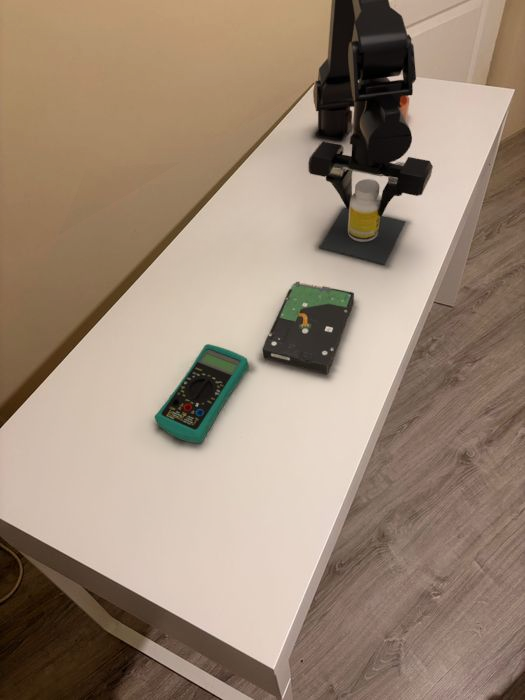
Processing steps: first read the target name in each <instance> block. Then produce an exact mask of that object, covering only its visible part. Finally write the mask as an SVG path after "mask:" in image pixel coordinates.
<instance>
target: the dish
mask: <svg viewBox="0 0 525 700" xmlns="http://www.w3.org/2000/svg"><path fill="white" fill-rule="evenodd" d="M400 108H401V111H402V113H403V115H404V117H405V120H406V121H407V120H408V115H409V110H410V109H409V108H410V97H409V96H401V98H400Z"/></svg>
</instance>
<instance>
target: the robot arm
mask: <svg viewBox="0 0 525 700" xmlns="http://www.w3.org/2000/svg"><path fill="white" fill-rule="evenodd" d="M317 73H318V75H317V80H315V81H314V86H313V89H312V92H313V93H312V95H313V96H312V97H313V104H314V108H315V111H316V112H317V130H316V132H314V136H315V137H317V138H324V139H329V140H335V141H340V142H341V141H343V140H344V139H345V138H346V136H347V135H348V134H349V132H350V131H351V129H352V133H351V136H350V137H349V145H351V154H350V155H347V154H344V151H345V149H344V145H343V144H340V143H334V142H329V141H321V142H320V143H319V144H318V146H317V147H316V148H315V150H314V151H313V152H312V153H311V155H310V156H309V159H308V173H309V174H310V175H314V176H319V177H324V178H325V181H326V182H328V183H330V184H331V185H332V186H333V188H334V189H335V191H336V192H337V194H338V195H339V197H340V199H341V201H342V202H343V205H344V207H345V208H347V209H349V207H350V199H351V196H352V195H353V172H357V173H361V174H366V175H370V176H375V177H387V182H386V184H385V186H384V187H383V190H382V193H381V203H380V208H379V216H383V215H384V213H385V211H386V209H387V207H388V205H389V203H390V202H391V200H392V199H394V197H401V196H402V195H403V194H406V195H411V196H414V197H418V196H422V195H423V193H424V191H425V189H426V187H427V185H428V183H429V180H430V178H431V176H432V173H433V167H434V166H433V163H432V162H431V161H430V160H427V159H422V158H416V157H411V156H408V157H407V158H406V160H405V162H402V161H398V160H399V159H401V158H402V157H403V156H405V154H406V153H407V152H408V151H409V149H410V148H411V146H412V142H413V136H412V131H411V128H410V126H409V124H408V121H407V120H405V117H404V115H403V113H402V111H401V108H400V98H401V96H408V97H409V96H413V93H414V92H413V90H414V87H413V84H415V82H416V80H417V71H416V59H415V47H414V44H413V43H412V37H411V35H410V34H408V32H407V29H406V25H405V22H404V18H403V15H402V14H401V13H399V12H397V11H396V10H395V9H394V8H392V6H391V4H390V0H331V6H330V20H329V34H328V48H327V58H326V60H325V61H323V63H322V64H321V65H320V66H319V68H318V72H317ZM401 73H402V79H397V80H396V79H395V80H390V79H389V78H392V77H393V78H394V77H399V76H400V75H401ZM351 108H353V110H352V109H351ZM396 161H397V162H396ZM394 162H395V163H394Z"/></svg>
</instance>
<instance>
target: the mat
mask: <svg viewBox="0 0 525 700" xmlns="http://www.w3.org/2000/svg"><path fill="white" fill-rule="evenodd" d="M348 221H349V209H347V208H346V206H343V208H342V209H341V211H340V213H339V214H338V216H337V217H336V219H335V221H333V224H332V225H331V227H330V229H329V230H328V232H327V234H326V235H325V237H324V239H323V240H322V242H321V243H320V245H319V246H318V249H320V250H322V251H323V250H324V251H327V252H331V253H335V254H339V255H342V256H347V257H351V258H354V259H358V260H362V261H365V262H370V263H374V264H376V265H382V266H385V265H386V263H387V261H388V259H389V257H390V255H391V253H392V251H393V249H394V247H395V246H396V243H397V242H398V241H397V240H398V238H399V237H400V235H401V233H402V232H403V229H404V227H405V225H406V220H403V219H398V218H394V217H389V216H384V215H382V216H380V222H379V230H378V234H377V236H376V237H375V238H374V239H373V240H370V241H367V242H359V241H356V240H353V239H352V238H351V237H350V236H349V234H348Z"/></svg>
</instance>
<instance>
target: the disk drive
mask: <svg viewBox="0 0 525 700" xmlns="http://www.w3.org/2000/svg"><path fill="white" fill-rule="evenodd" d="M354 302H355V292H352V291H348V290H342V289H337V288H333V287H329V286H325V285H322V286H317V285H314V284H307V283H303V282H301V283H300V281H295V283H293V284H292V285H291V286H290V288H289V290H288V291H287V293H286V296H285V299H284V301H283V303H282V304H281V307H280V309H279V310H278V313H277V316H276V319H275V320H274V322H273V324H272V326H271V329H270V331H269V333H268V335H267V337H266V338H265V341H264V344H263V347H262V349H261V350H262V356H263V359H266V360H267V359H268V360H270V361H274V362H278V363H281V364H286V365H290V366H292V367H297V368H300V369H305V370H308V371H313V372H316V373H322V374H325V375H328V374H329V373H330V370H331V367H332V365H333V363H334V360H335V356H336V353H337V352H338V351H337V350H338V347H339V345H340V342H341V340H342V337H343V333H344V330H345V328H346V325H347V322H348V319H349V318H350V315H351V311H352V308H353V305H354Z"/></svg>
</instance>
